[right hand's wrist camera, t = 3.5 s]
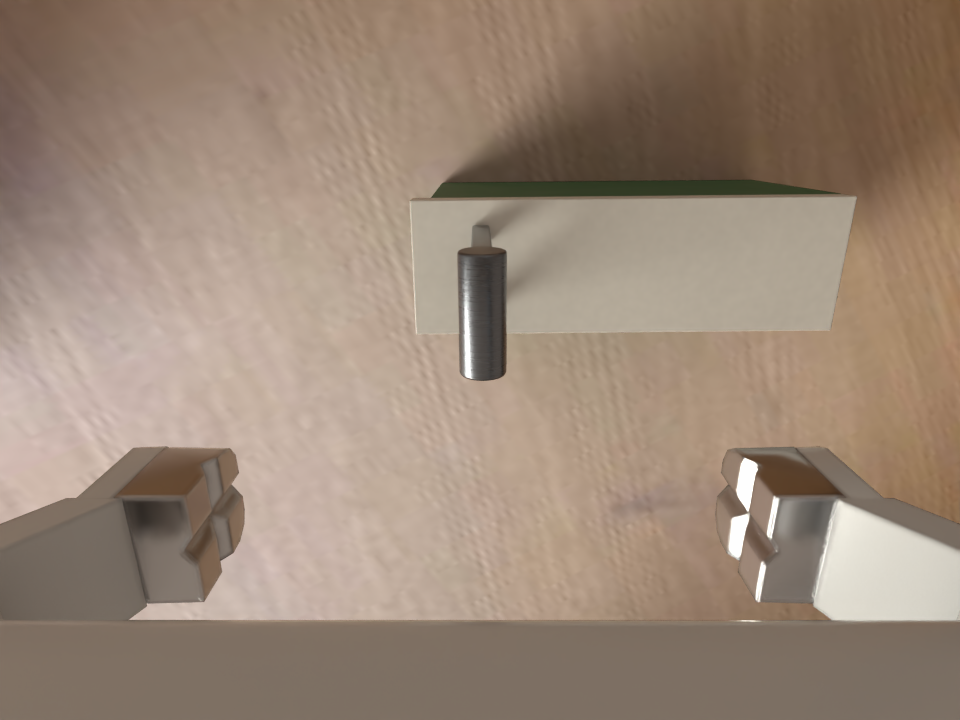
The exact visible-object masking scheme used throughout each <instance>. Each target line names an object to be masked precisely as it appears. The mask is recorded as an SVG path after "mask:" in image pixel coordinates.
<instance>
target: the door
mask: <svg viewBox="0 0 960 720" xmlns="http://www.w3.org/2000/svg"><path fill="white" fill-rule="evenodd" d="M856 200H857V196H852V195H846V194H794V195H688V196H582V197H476V198H412V199H411V200H410V218H411V239H412V260H413V281H414V302H415V323H416V334H459V360H460V373H461V375H462V376H463V377H465V378H468V379H471V380H479V381H487V380H494V379H498V378H500V377H502V376H504V375H505V373H506V338H507V333H596V332H700V331H803V330H831V325H832V320H833V315H834V310H835V305H836V300H837V295H838V290H839V285H840V280H841V275H842V270H843V265H844V260H845V255H846V250H847V245H848V240H849V235H850V230H851V225H852V220H853V215H854V210H855V205H856Z"/></svg>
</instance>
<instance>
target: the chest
mask: <svg viewBox="0 0 960 720" xmlns="http://www.w3.org/2000/svg"><path fill="white" fill-rule="evenodd" d="M794 194H840V193H833V192H827V191H820V190H814V189H807V188H801V187H794V186H788V185H781V184H775V183H768V182H762V181H755V180H680V181H574V182H468V183H442V184H441V185H440V187H439V188H438V189H437V191H436V192H435V193H434V195H433V196H432V197H431V198H476V197H582V196H688V195H794Z"/></svg>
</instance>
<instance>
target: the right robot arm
mask: <svg viewBox="0 0 960 720" xmlns="http://www.w3.org/2000/svg"><path fill="white" fill-rule="evenodd" d="M238 473H239V470H238V465H237V460H236V455H235V454H234V453H233V451H232V450H231V449H230V448H187V447H170V448H169V447H167V446H165V447H139V448H133V449H132V450H130V451H129V452H128V453H127V454H126V455H125V456H124V457H123V458H121V459H120V460H119V461H118V462H117V463H116V464H115V465H113V466H112V467H111V468H110V469H109V470H108V471H107V472H105V473H104V474H103V475H102V476H101V477H100V478H99V479H98V480H96V481H95V482H94V483H93V484H92V485H91V486H90V487H88V488H87V489H86V490H85V491H84V492H83V493H82V494H80V495H79V496H78V497H77V498H66V499H63V500H60V501H58V502H55V503H53V504H50V505H48V506H45V507H42V508H40V509H37V510H35V511H32V512H30V513H27V514H25V515H22V516H19V517H17V518H14V519H12V520H9V521H7V522H4V523H2V524H0V720H960V524H958V523H956V522H953V521H951V520H948V519H946V518H943V517H940V516H938V515H935V514H933V513H930V512H928V511H925V510H923V509H920V508H917V507H915V506H912V505H910V504H907V503H905V502H902V501H900V500H897V499H895V498H883V497H882V496H881V495H880V494H878V493H877V492H876V491H875V490H874V489H873V488H872V487H870V486H869V485H868V484H867V483H866V482H865V481H864V480H863V479H861V478H860V477H859V476H858V475H857V474H856V473H855V472H854V471H852V470H851V469H850V468H849V467H848V466H847V465H846V464H844V463H843V462H842V461H841V460H840V459H839V458H838V457H837V456H835V455H834V454H833V453H832V452H831V451H830V450H829V449H827V448H823V447H820V446H816V447H770V448H734V449H729V450H727V452H726V454H725V457H724V459H723V464H722V470H721V473H722V475H723V477H724V478H725V480H726V481H727V483H728V484H729V485H728V486H727V487H726V488H725V489H724V490H723V491H722V492H721V493H720V494H719V495H718V496H717V503H716V512H715V517H716V527H717V533H718V536H719V539H720V542H721V544H722V546H723V547H724V549H725V551H726V553H728V554H729V555H731V556H732V557H734V558H736V559H737V560H739V561H740V562H739V568H738V573H739V575H740V576H741V578H742V579H743V581H744V583H745V584H746V586H747V588H748V589H749V591H750V593H751V594H752V596H753V598H754V599H755V601H756V602H777V603H813V606H814V607H815V608H816V609H818V610H819V611H821V612H822V613H823V614H825V615H826V616H827V617H829V618H830V619H831V620H129V619H130V618H131V617H133V616H134V615H136V614H137V613H138V612H140V611H141V610H142V609H144V608H145V607H146V606H147V604H146V603H182V602H204V601H205V599H206V598H207V596H208V594H209V593H210V591H211V589H212V588H213V586H214V584H215V583H216V581H217V580H218V578H219V576H220V575H221V573H222V568H221V562H220V561H221V560H223V559H224V558H226V557H228V556H229V555H231V554H232V553H234V551H235V549H236V547H237V545H238V544H239V542H240V539H241V535H242V531H243V527H244V511H245V509H244V502H243V496H242V495H241V494H240V493H239V492H238V491H237V490H236V489H235V488H234V487H233V486H232V485H231V484H232V483H233V481H234V480H235V478H236V477H237V475H238Z"/></svg>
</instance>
